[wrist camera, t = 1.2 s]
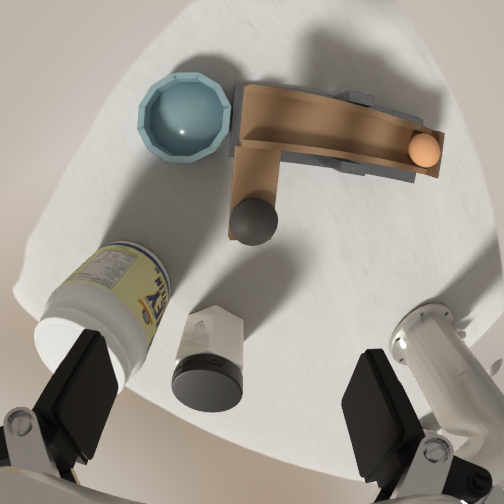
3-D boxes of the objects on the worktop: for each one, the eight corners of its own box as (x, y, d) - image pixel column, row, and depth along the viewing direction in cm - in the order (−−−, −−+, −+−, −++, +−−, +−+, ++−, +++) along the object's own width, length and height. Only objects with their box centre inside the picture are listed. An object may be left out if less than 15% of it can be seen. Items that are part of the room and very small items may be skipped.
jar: (230, 296, 39) (224, 358, 28) (255, 339, 42) (257, 403, 31) (174, 318, 40) (153, 379, 29) (202, 357, 43) (192, 418, 32)
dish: (235, 78, 28) (234, 73, 26) (227, 162, 32) (225, 165, 30) (150, 78, 28) (142, 74, 25) (145, 159, 32) (136, 161, 29)
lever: (425, 130, 27) (446, 134, 24) (405, 238, 32) (423, 248, 29) (237, 86, 21) (248, 80, 18) (225, 239, 26) (233, 254, 23)
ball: (424, 135, 26) (448, 140, 23) (419, 165, 27) (443, 172, 24) (404, 128, 25) (429, 132, 22) (399, 161, 26) (424, 167, 23)
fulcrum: (420, 119, 30) (458, 121, 22) (411, 182, 33) (447, 197, 26) (235, 84, 29) (231, 69, 21) (229, 156, 32) (223, 163, 25)
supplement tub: (171, 323, 41) (140, 416, 25) (96, 306, 40) (43, 384, 24) (176, 244, 36) (129, 327, 21) (90, 230, 35) (14, 294, 20)
